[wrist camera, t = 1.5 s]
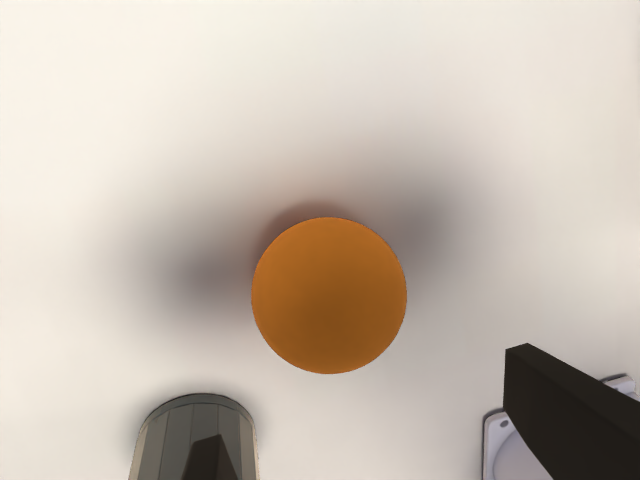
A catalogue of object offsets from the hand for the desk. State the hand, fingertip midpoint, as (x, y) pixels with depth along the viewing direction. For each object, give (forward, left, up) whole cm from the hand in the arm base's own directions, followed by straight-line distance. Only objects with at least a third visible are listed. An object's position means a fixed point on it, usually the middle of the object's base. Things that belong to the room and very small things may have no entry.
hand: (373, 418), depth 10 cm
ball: (0, 0, -9) cm, 9 cm away
